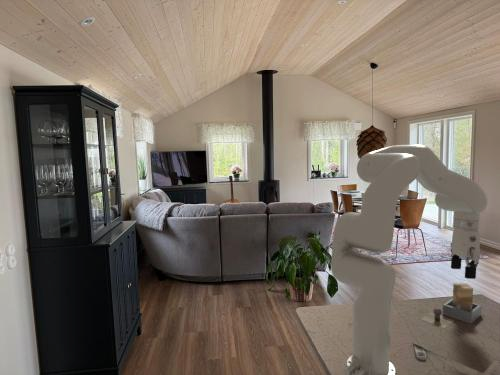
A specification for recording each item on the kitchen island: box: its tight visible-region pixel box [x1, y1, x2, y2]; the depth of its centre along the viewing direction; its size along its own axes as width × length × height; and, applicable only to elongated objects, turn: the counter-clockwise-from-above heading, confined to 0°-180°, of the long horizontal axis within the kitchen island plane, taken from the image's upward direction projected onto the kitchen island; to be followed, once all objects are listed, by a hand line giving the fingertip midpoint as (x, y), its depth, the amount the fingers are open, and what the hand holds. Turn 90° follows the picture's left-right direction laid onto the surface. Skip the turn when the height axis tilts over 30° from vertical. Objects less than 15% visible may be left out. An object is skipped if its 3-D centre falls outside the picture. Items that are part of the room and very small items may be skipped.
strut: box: [452, 282, 474, 312], centre depth 123 cm, size 4×4×11 cm
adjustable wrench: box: [411, 342, 427, 361], centre depth 113 cm, size 25×6×2 cm, turn 160°
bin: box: [442, 297, 482, 325], centre depth 123 cm, size 9×9×5 cm
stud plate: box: [419, 307, 456, 329], centre depth 120 cm, size 8×8×6 cm
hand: (462, 273), depth 121 cm, fingers open, 9 cm apart
